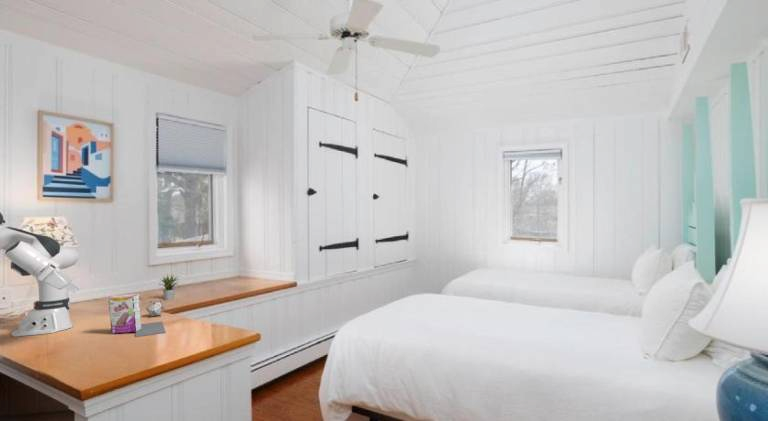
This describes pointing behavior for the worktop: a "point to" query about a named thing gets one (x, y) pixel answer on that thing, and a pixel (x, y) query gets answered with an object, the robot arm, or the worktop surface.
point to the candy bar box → (125, 313)
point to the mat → (151, 329)
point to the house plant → (169, 287)
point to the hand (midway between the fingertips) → (77, 291)
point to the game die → (155, 308)
